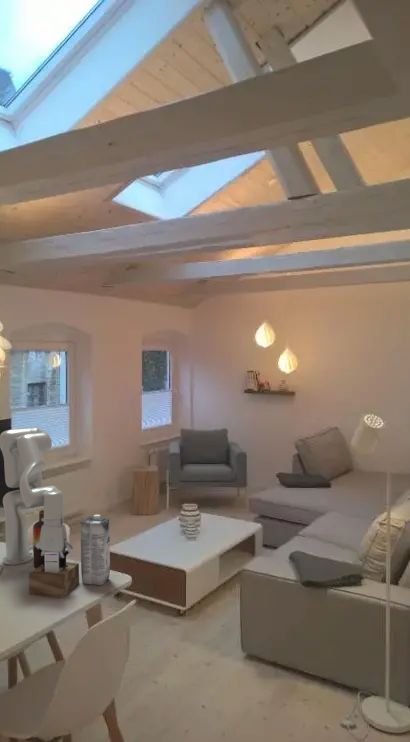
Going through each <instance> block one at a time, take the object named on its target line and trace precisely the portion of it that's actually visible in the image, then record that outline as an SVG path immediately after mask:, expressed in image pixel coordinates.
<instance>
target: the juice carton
mask: <svg viewBox="0 0 410 742" xmlns="http://www.w3.org/2000/svg"><path fill="white" fill-rule="evenodd" d="M110 534H111V533H110V518H108V517H101V514H94V515H93V516H88V517H87V518H85V519H84V520H81V522H80V571H81V572H80V573H81V580H82V584H87V585H96V586H102V585H104V583H106V581H108V580H109V577H110V574H111V573H110V572H111V559H110V558H111V555H110V552H111V549H110V545H111V543H110V542H111V541H110V538H111V537H110Z"/></svg>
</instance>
